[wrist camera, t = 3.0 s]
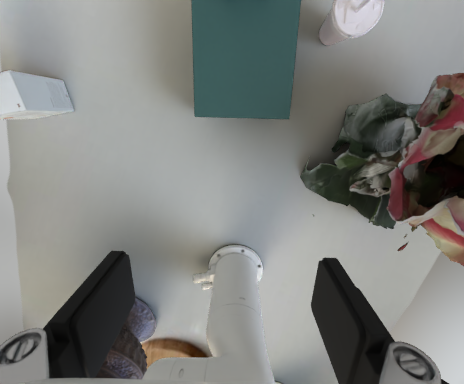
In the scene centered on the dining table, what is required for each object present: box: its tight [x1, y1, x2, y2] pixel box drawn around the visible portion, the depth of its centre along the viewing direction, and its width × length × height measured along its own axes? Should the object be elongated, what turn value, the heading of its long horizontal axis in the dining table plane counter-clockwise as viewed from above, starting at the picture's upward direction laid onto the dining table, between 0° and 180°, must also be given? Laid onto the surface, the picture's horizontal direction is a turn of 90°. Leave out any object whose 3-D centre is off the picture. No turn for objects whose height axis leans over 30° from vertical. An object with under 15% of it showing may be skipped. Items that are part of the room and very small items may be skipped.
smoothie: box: [319, 0, 384, 45], centre depth 32 cm, size 6×6×14 cm
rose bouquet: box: [300, 73, 464, 266], centre depth 30 cm, size 26×29×30 cm
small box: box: [0, 70, 74, 120], centre depth 38 cm, size 8×6×10 cm
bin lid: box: [192, 0, 301, 119], centre depth 29 cm, size 17×14×5 cm
